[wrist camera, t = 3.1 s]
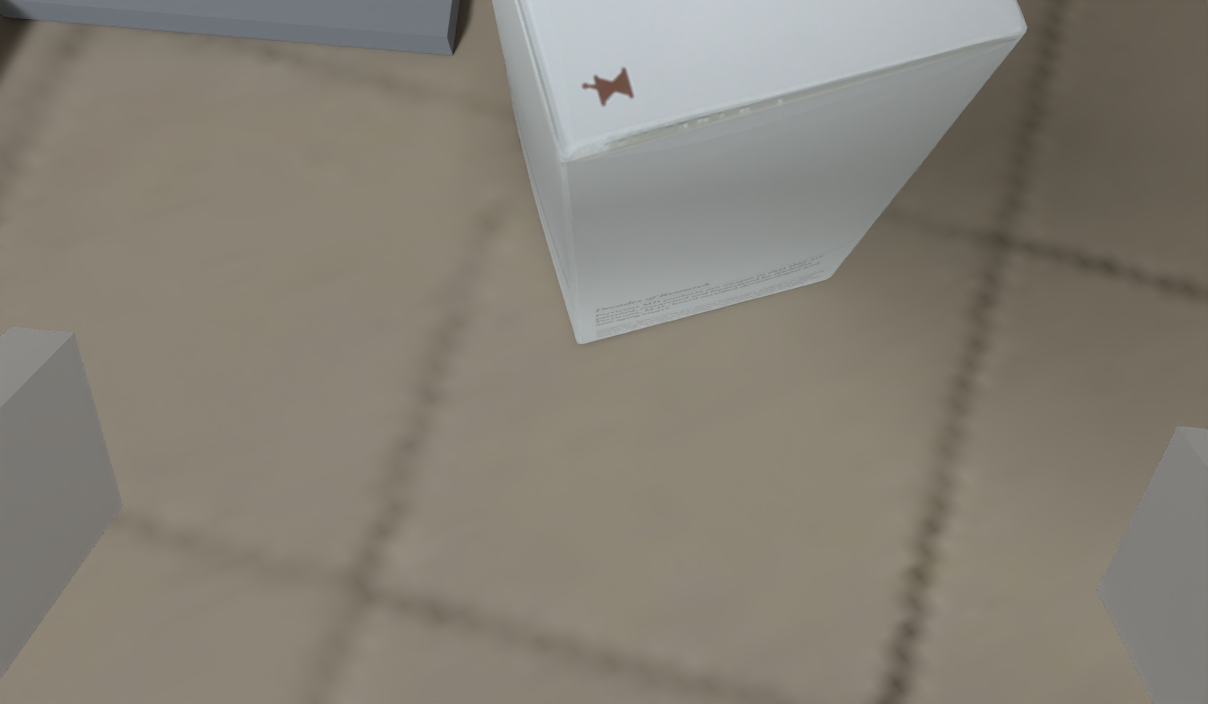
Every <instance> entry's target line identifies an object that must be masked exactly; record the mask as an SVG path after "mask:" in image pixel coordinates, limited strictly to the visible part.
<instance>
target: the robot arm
mask: <svg viewBox="0 0 1208 704" xmlns="http://www.w3.org/2000/svg"><path fill="white" fill-rule="evenodd" d="M122 506H123V504H122V500H121V496H120V493H119V489H118V486H117V482H116V479H115V475H114V472H113V468H112V464H111V461H110V457H109V454H108V450H107V447H106V443H105V440H104V436H103V432H102V429H101V425H100V422H99V418H98V415H97V411H96V407H95V404H94V400H93V397H92V393H91V390H90V386H89V383H88V379H87V375H86V372H85V368H84V365H83V361H82V358H81V354H80V350H79V347H78V343H77V340H76V336H75V333H73V332H61V331H50V330H38V329H26V328H14V327H11V328H10V329H9V330H8V331H6V332H5V333H4V334H3V335H2V336H1V337H0V679H1V678H2V676H3V675H4V673H5V672H6V671H7V669H8V668H9V666H10V665H11V664H12V662H13V661H14V659H15V658H16V656H17V655H18V654H19V652H20V651H21V649H22V648H23V646H24V645H25V644H26V642H27V641H28V639H29V638H30V637H31V635H32V634H33V632H34V631H35V629H36V628H37V627H38V625H39V624H40V622H41V621H42V619H43V618H44V617H45V615H46V614H47V612H48V611H49V610H50V608H51V607H52V605H53V604H54V602H55V601H56V600H57V598H58V597H59V595H60V594H61V593H62V591H63V590H64V588H65V587H66V585H67V584H68V583H69V581H70V580H71V578H72V577H73V575H74V574H75V573H76V571H77V570H78V568H79V567H80V566H81V564H82V563H83V561H84V560H85V558H86V557H87V556H88V554H89V553H90V551H91V550H92V549H93V547H94V546H95V544H96V543H97V541H98V540H99V539H100V537H101V536H102V534H103V533H104V531H105V530H106V529H107V527H108V526H109V524H110V523H111V522H112V520H113V519H114V517H115V516H116V514H117V513H118V512H119V510H120V509H121V507H122ZM1097 592H1098V594H1099V596H1100V598H1101V600H1102V602H1103V604H1104V606H1105V608H1106V610H1107V612H1108V614H1109V616H1110V618H1111V620H1112V622H1113V624H1114V626H1115V628H1116V630H1117V632H1118V634H1119V636H1120V638H1121V640H1122V642H1123V644H1124V646H1125V648H1126V650H1127V652H1128V654H1129V656H1130V658H1131V660H1132V662H1133V664H1134V666H1135V668H1136V670H1137V672H1138V674H1139V676H1140V678H1141V680H1142V682H1143V684H1144V686H1145V688H1146V690H1147V692H1148V694H1149V696H1150V698H1151V700H1152V702H1153V704H1208V429H1205V428H1193V427H1182V426H1177V428H1176V430H1175V432H1174V434H1173V436H1172V438H1171V440H1170V442H1169V444H1168V446H1167V448H1166V450H1165V452H1164V454H1163V456H1162V458H1161V460H1160V462H1159V464H1158V466H1157V468H1156V470H1155V472H1154V475H1153V477H1152V479H1151V481H1150V483H1149V485H1148V487H1147V489H1146V491H1145V493H1144V495H1143V497H1142V499H1141V501H1140V503H1139V505H1138V507H1137V509H1136V511H1135V513H1134V515H1133V517H1132V519H1131V521H1130V523H1129V525H1128V527H1127V529H1126V532H1125V534H1124V536H1123V538H1122V540H1121V542H1120V544H1119V546H1118V548H1117V550H1116V552H1115V554H1114V556H1113V558H1112V560H1111V562H1110V564H1109V566H1108V568H1107V570H1106V572H1105V574H1104V576H1103V578H1102V580H1101V582H1100V584H1099V586H1098V588H1097Z"/></svg>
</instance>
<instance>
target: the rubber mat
mask: <svg viewBox="0 0 1208 704" xmlns="http://www.w3.org/2000/svg"><path fill="white" fill-rule="evenodd" d="M459 5H460V0H0V14H1V15H2V16H3V17H9V18H21V19H33V20H45V21H56V22H68V23H80V24H91V25H103V26H115V27H127V28H138V29H150V30H162V31H173V32H185V33H197V34H208V35H220V36H232V37H244V38H255V39H267V40H279V41H290V42H302V43H314V44H325V45H337V46H349V47H361V48H372V49H384V50H396V51H407V52H419V53H431V54H442V55H453V49H454V41H455V34H456V27H457V19H458V12H459Z"/></svg>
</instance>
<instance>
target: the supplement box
mask: <svg viewBox="0 0 1208 704" xmlns="http://www.w3.org/2000/svg"><path fill="white" fill-rule="evenodd" d="M492 3H493V8H494V13H495V18H496V22H497V27H498V32H499V37H500V42H501V47H502V52H503V56H504V61H505V66H506V71H507V77H508V83H509V89H510V94H511V99H512V105H513V110H514V115H515V119H516V124H517V129H518V133H519V137H520V141H521V146H522V150H523V154H524V158H525V162H526V166H527V170H528V175H529V179H530V182H531V186H532V190H533V194H534V198H535V202H536V206H537V209H538V213H539V216H540V220H541V223H542V227H543V230H544V233H545V237H546V240H547V244H548V247H549V251H550V254H551V257H552V261H553V264H554V268H555V271H556V274H557V277H558V281H559V284H560V287H561V291H562V294H563V297H564V301H565V304H566V307H567V311H568V314H569V317H570V320H571V324H572V327H573V331H574V334H575V338H576V341H577V343H579V344H585V343H589V342H593V341H596V340H600V339H604V338H608V337H611V336H615V335H619V334H624V333H627V332H631V331H634V330H638V329H642V328H645V327H649V326H653V325H656V324H660V323H664V322H669V321H673V320H677V319H680V318H684V317H687V316H691V315H694V314H698V313H702V312H706V311H710V310H714V309H718V308H721V307H725V306H729V305H732V304H736V303H740V302H744V301H748V300H752V299H755V298H759V297H763V296H767V295H771V294H775V293H778V292H782V291H786V290H790V289H794V288H798V287H801V286H805V285H809V284H812V283H816V282H819V281H823V280H827V279H828V278H830V277H831V276H832V275H833V274H834V273H835V272H836V270H837V269H838V268H839V266H840V265H841V264H842V262H843V261H844V260H845V258H846V257H847V256H848V255H849V254H850V253H851V252H852V250H853V249H854V248H855V246H856V245H857V244H858V243H859V241H860V240H861V239H862V238H863V236H864V235H865V234H866V233H867V231H868V230H869V229H870V227H871V226H872V225H873V223H874V222H875V221H876V220H877V218H878V217H879V216H880V215H881V214H882V212H883V211H884V210H885V209H886V207H887V206H888V205H889V204H890V202H891V201H892V200H893V198H894V197H895V195H896V194H897V193H898V192H899V191H900V190H901V189H902V187H903V186H904V185H905V183H906V182H907V181H908V180H909V178H910V177H911V176H912V175H913V174H914V172H915V171H916V170H917V169H918V168H919V166H920V165H921V164H922V163H923V161H924V160H925V159H926V157H927V156H928V155H929V153H930V152H931V151H932V150H933V149H934V147H935V146H936V145H937V143H938V142H939V141H940V140H941V138H942V137H943V136H944V134H945V133H946V132H947V130H948V129H949V128H950V127H951V126H952V125H953V123H954V122H955V120H956V119H957V118H958V117H959V115H960V114H961V113H962V112H963V110H964V109H965V108H966V107H967V105H968V104H969V103H970V102H971V101H972V99H973V98H974V97H975V96H976V95H977V93H978V92H979V91H980V89H981V88H982V87H983V85H984V84H985V83H986V82H987V80H988V79H989V78H990V77H991V75H992V74H993V73H994V71H995V70H996V69H997V68H998V66H999V65H1000V64H1001V63H1002V62H1003V61H1004V59H1005V58H1006V57H1007V55H1008V54H1009V53H1010V52H1011V50H1012V49H1013V48H1014V46H1015V45H1016V44H1017V43H1018V41H1019V40H1020V39H1021V38H1022V37H1023V35H1024V34H1025V33H1026V30H1027V25H1026V22H1025V19H1024V16H1023V14H1022V11H1021V9H1020V6H1019V4H1018V2H1017V0H492Z"/></svg>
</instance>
